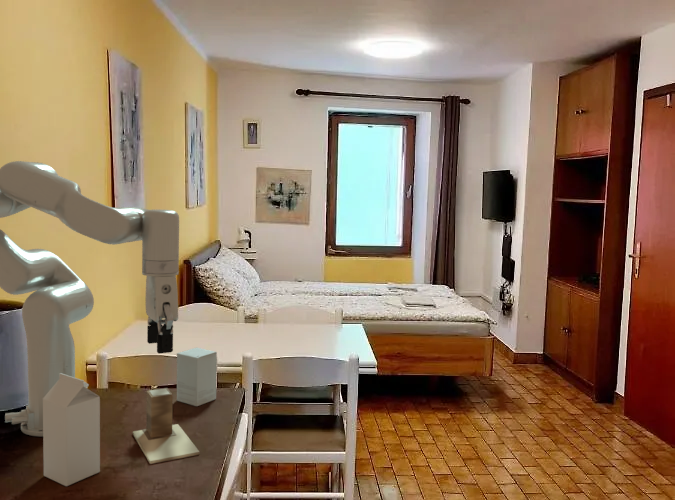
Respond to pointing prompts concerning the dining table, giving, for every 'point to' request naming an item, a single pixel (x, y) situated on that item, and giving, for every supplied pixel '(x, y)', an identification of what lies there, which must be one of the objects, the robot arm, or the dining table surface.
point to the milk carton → (71, 431)
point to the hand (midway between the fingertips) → (159, 347)
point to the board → (165, 445)
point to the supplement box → (196, 376)
